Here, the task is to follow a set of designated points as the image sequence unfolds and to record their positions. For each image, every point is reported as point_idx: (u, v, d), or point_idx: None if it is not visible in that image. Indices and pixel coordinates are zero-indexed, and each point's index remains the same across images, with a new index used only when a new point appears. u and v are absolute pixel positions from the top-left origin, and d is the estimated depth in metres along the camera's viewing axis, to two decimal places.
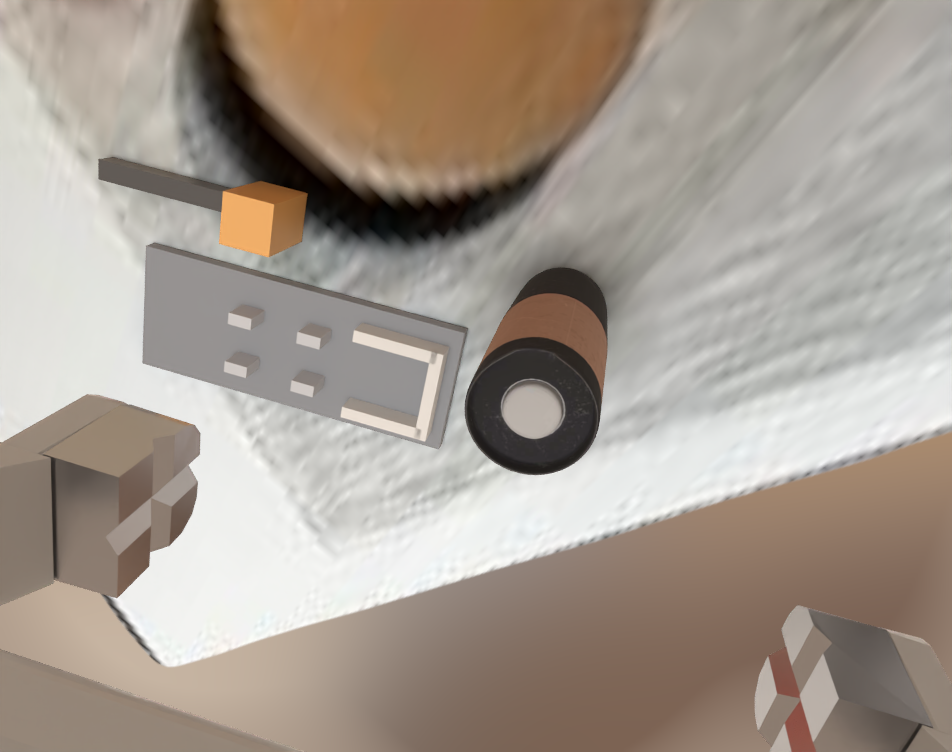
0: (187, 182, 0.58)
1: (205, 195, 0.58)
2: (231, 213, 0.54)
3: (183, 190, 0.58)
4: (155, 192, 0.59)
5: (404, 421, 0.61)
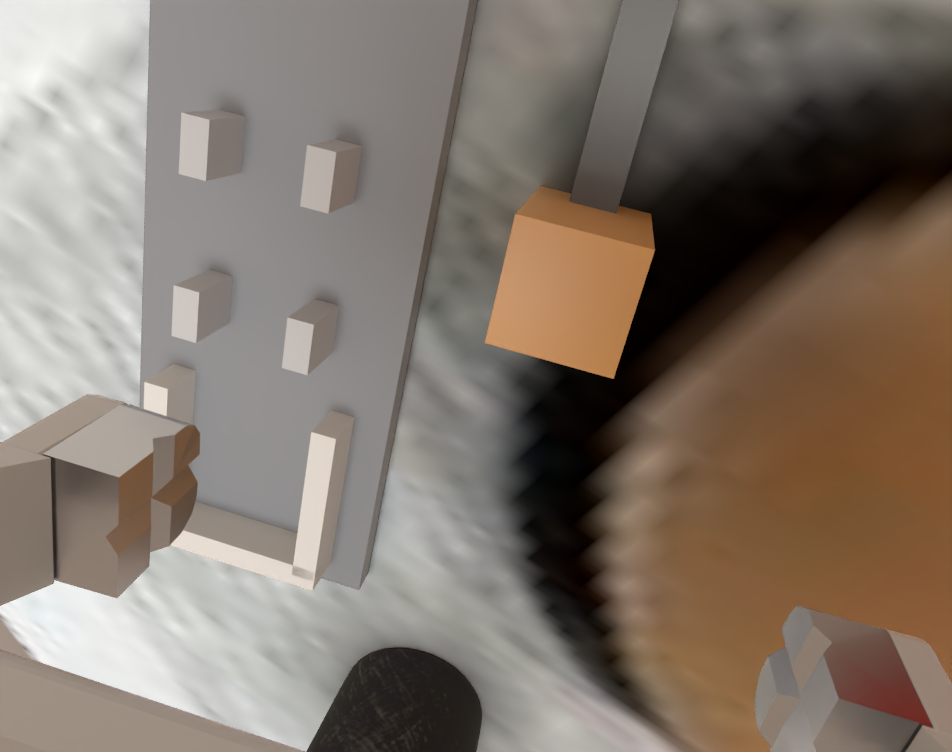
0: (666, 39, 0.22)
1: (630, 93, 0.23)
2: (594, 263, 0.21)
3: (646, 26, 0.22)
4: None
5: None
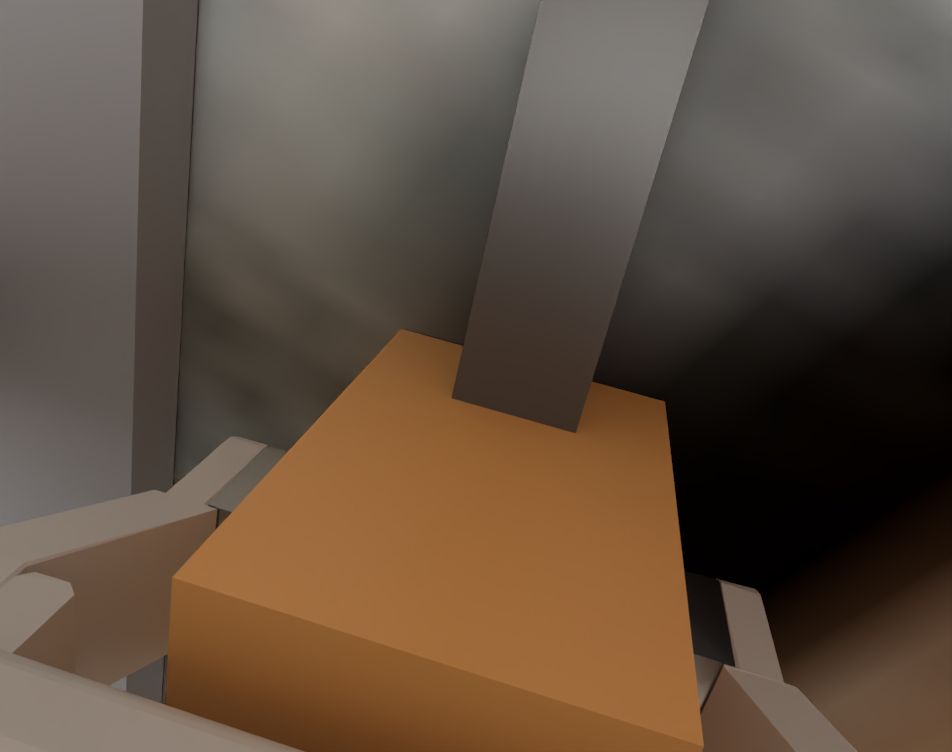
0: None
1: (610, 113, 0.08)
2: None
3: None
4: None
5: None
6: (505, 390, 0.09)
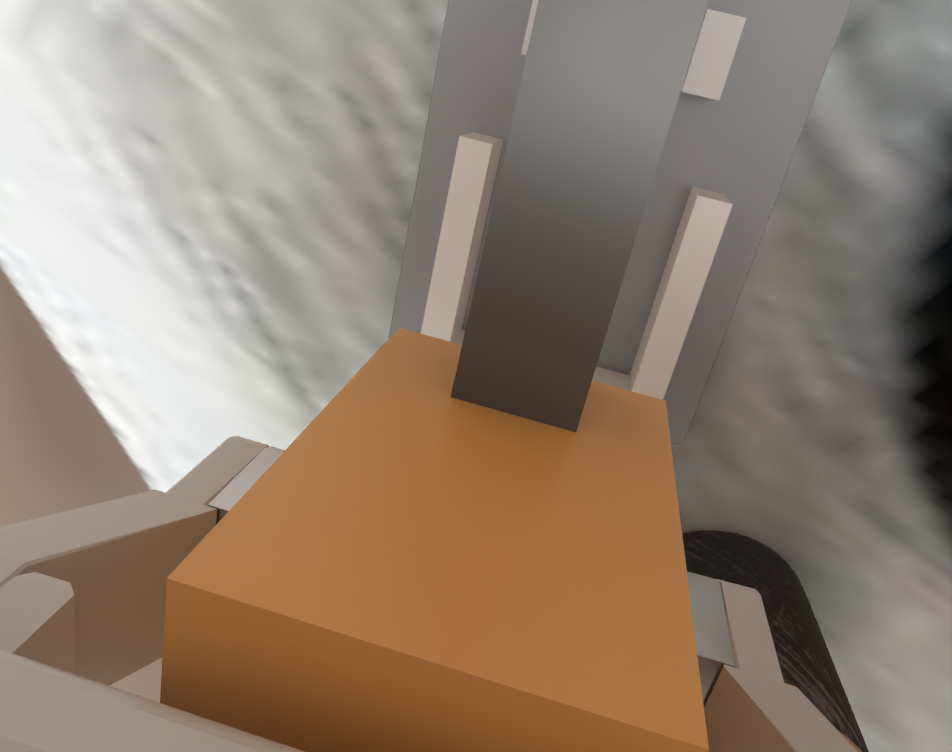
0: None
1: (610, 109, 0.08)
2: None
3: None
4: None
5: (459, 310, 0.24)
6: (505, 389, 0.09)
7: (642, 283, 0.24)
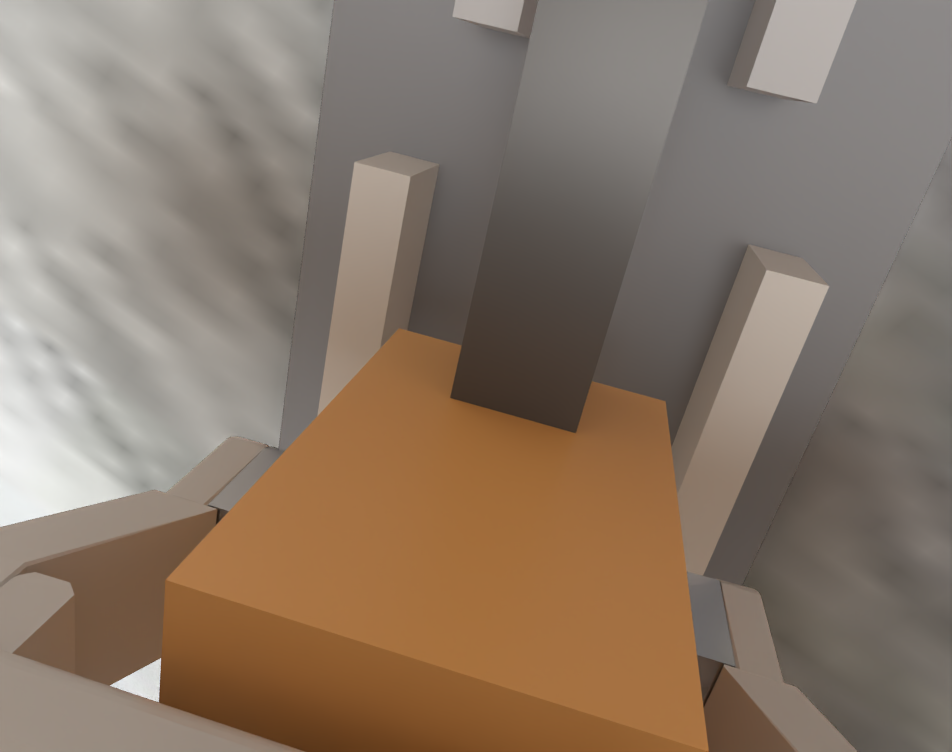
0: None
1: (610, 109, 0.07)
2: None
3: None
4: None
5: None
6: (504, 390, 0.09)
7: (663, 393, 0.15)
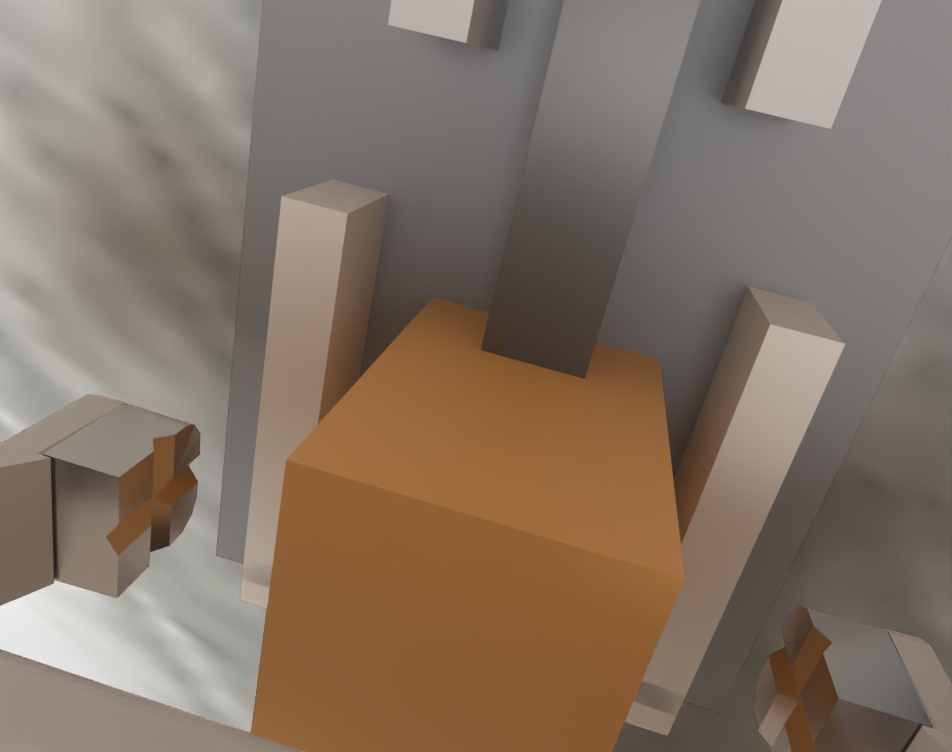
0: None
1: (614, 112, 0.09)
2: (513, 597, 0.07)
3: None
4: None
5: None
6: (526, 342, 0.11)
7: None
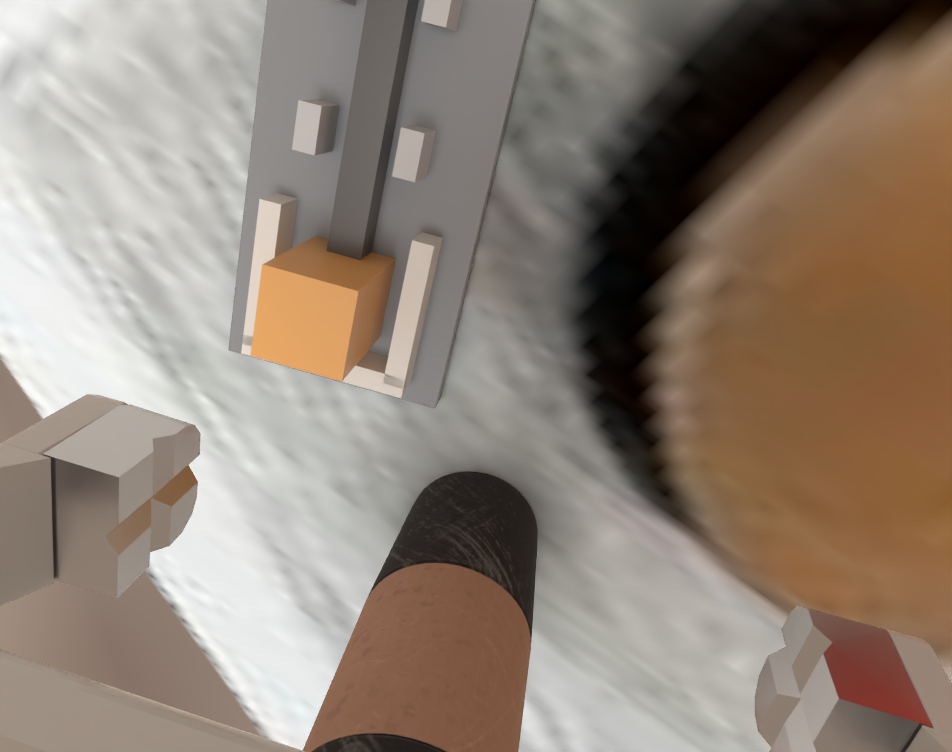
0: (383, 138, 0.31)
1: (361, 175, 0.31)
2: (319, 299, 0.29)
3: (367, 129, 0.31)
4: (360, 63, 0.30)
5: None
6: (340, 248, 0.33)
7: (397, 296, 0.35)
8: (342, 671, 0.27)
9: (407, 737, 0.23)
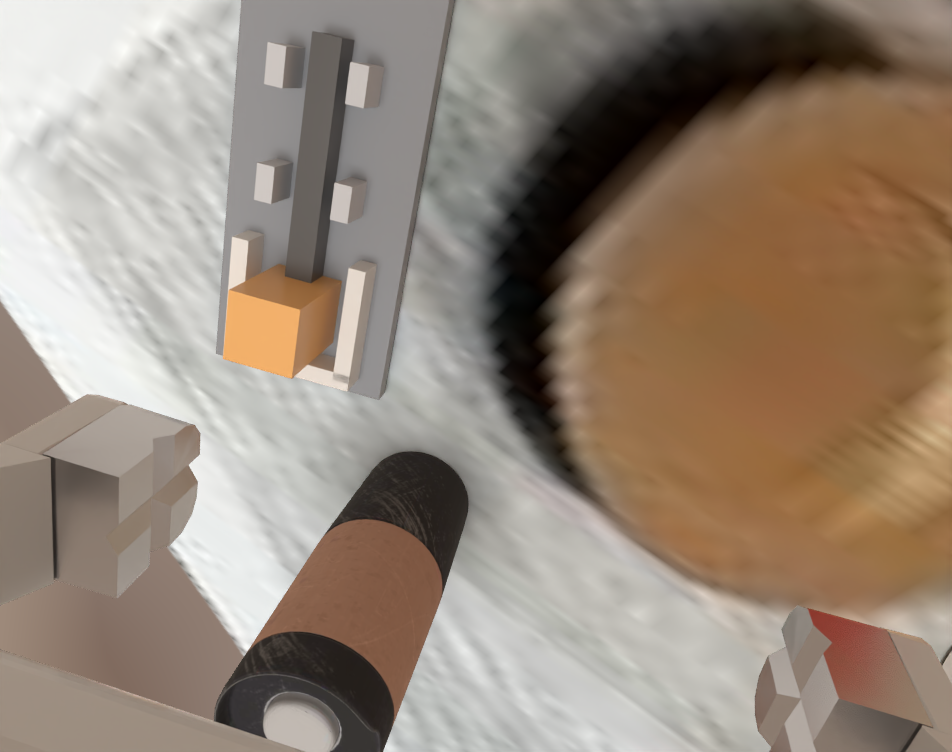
0: (323, 190, 0.40)
1: (308, 218, 0.40)
2: (272, 316, 0.38)
3: (311, 183, 0.40)
4: (303, 133, 0.39)
5: None
6: (295, 274, 0.42)
7: None
8: (285, 595, 0.36)
9: (318, 634, 0.32)
